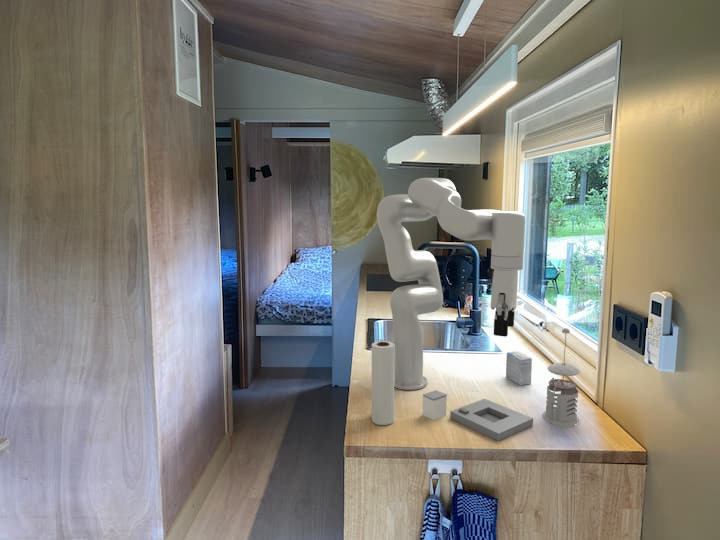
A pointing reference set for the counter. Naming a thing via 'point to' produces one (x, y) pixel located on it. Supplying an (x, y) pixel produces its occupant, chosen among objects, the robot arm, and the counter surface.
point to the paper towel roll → (383, 382)
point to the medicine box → (518, 368)
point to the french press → (562, 394)
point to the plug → (434, 404)
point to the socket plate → (491, 419)
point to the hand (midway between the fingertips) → (503, 330)
